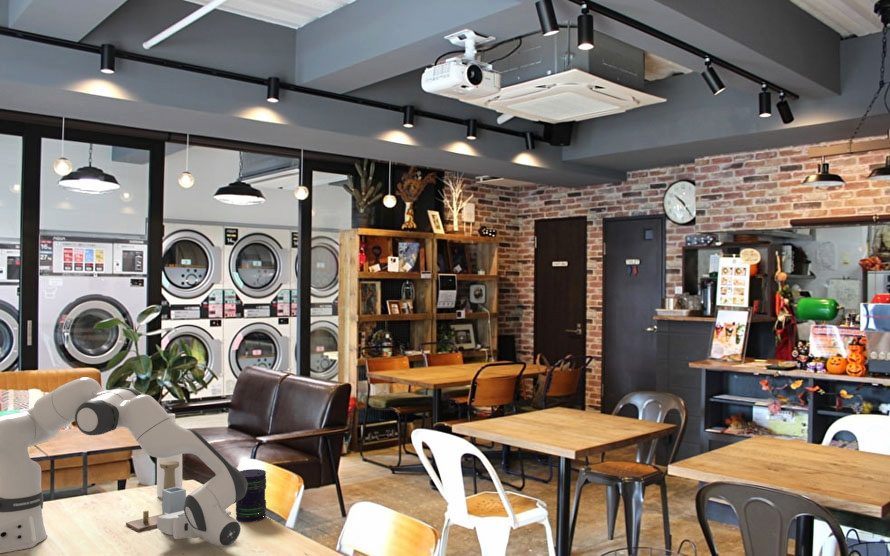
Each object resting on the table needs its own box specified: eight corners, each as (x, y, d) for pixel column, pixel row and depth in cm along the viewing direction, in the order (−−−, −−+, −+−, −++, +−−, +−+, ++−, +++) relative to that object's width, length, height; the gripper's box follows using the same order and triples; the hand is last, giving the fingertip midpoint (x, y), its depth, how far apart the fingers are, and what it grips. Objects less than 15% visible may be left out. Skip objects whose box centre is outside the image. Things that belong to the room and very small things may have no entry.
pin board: (138, 531, 232) (138, 517, 232) (125, 525, 238) (125, 511, 238) (191, 518, 245) (191, 505, 245) (178, 513, 251) (178, 499, 251)
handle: (164, 503, 263) (164, 461, 263) (181, 503, 262) (181, 461, 262) (157, 507, 258) (157, 464, 258) (175, 507, 257) (175, 464, 257)
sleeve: (169, 535, 229) (169, 493, 229) (161, 531, 233) (161, 489, 233) (186, 530, 233) (186, 489, 233) (178, 527, 237) (178, 486, 237)
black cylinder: (229, 520, 243) (229, 475, 243) (246, 512, 252) (246, 468, 253) (255, 523, 240) (255, 477, 240) (271, 514, 249) (272, 470, 249)
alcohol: (153, 499, 268) (153, 416, 268) (160, 492, 276) (161, 412, 277) (178, 498, 268) (178, 416, 269) (184, 492, 277) (185, 412, 278)
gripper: (233, 503, 228) (210, 494, 237) (170, 518, 213) (148, 508, 222) (233, 524, 228) (210, 514, 237) (170, 540, 213) (148, 529, 222)
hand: (180, 511), depth 230 cm, fingers open, 8 cm apart
